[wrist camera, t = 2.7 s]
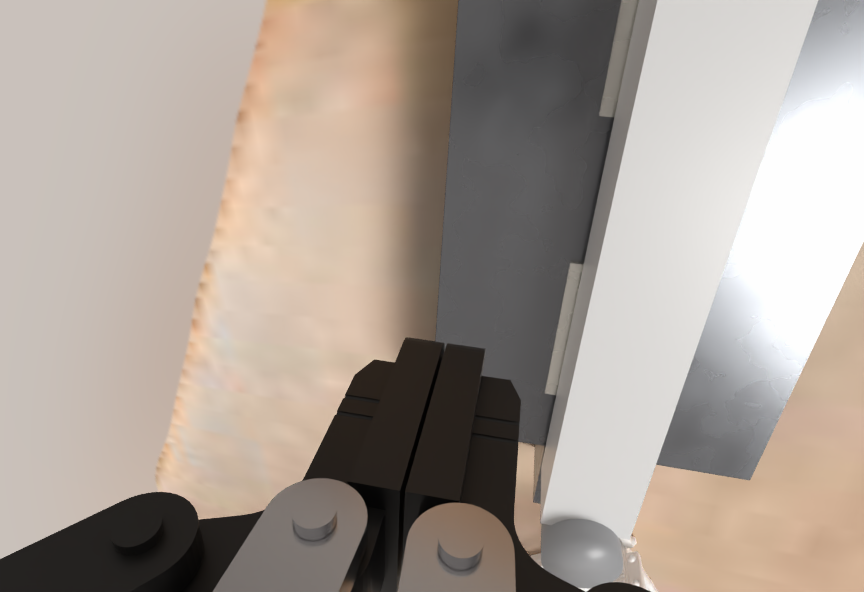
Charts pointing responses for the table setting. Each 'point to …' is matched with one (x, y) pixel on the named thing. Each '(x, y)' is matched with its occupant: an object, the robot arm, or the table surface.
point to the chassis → (576, 201)
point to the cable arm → (657, 257)
